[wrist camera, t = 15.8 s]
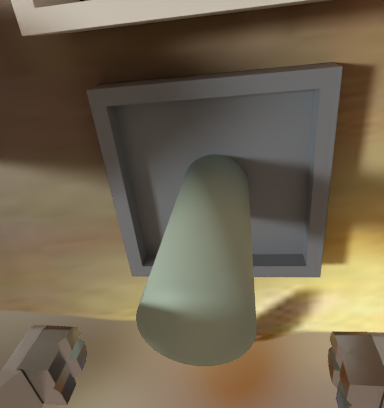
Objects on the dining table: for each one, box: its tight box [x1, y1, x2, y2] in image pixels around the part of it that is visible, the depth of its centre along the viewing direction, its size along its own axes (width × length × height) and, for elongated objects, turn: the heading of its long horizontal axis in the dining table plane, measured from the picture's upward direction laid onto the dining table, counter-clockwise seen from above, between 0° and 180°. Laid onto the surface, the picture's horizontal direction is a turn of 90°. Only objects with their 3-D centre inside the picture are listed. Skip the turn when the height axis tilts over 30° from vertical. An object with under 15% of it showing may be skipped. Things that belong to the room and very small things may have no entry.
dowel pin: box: [136, 154, 257, 366], centre depth 17 cm, size 4×4×12 cm
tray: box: [86, 62, 343, 277], centre depth 22 cm, size 14×14×2 cm
